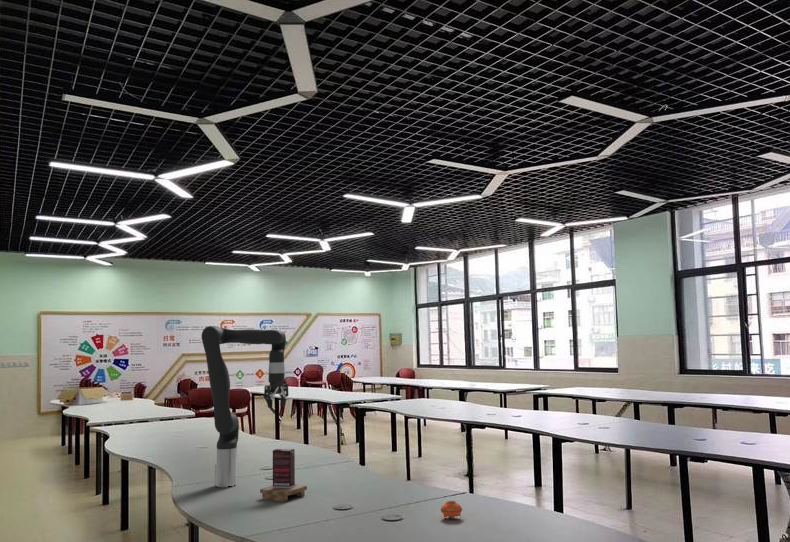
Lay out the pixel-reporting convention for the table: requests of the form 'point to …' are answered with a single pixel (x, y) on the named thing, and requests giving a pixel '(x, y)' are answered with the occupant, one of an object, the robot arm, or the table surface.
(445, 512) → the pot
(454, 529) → the table surface
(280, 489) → the tan board
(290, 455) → the supplement box
